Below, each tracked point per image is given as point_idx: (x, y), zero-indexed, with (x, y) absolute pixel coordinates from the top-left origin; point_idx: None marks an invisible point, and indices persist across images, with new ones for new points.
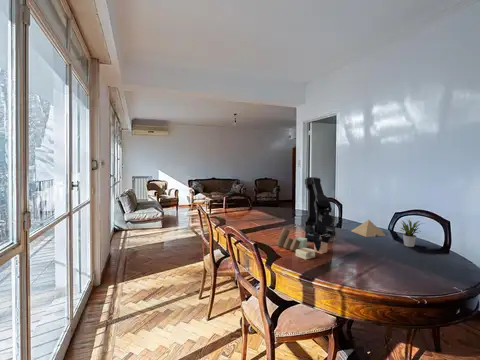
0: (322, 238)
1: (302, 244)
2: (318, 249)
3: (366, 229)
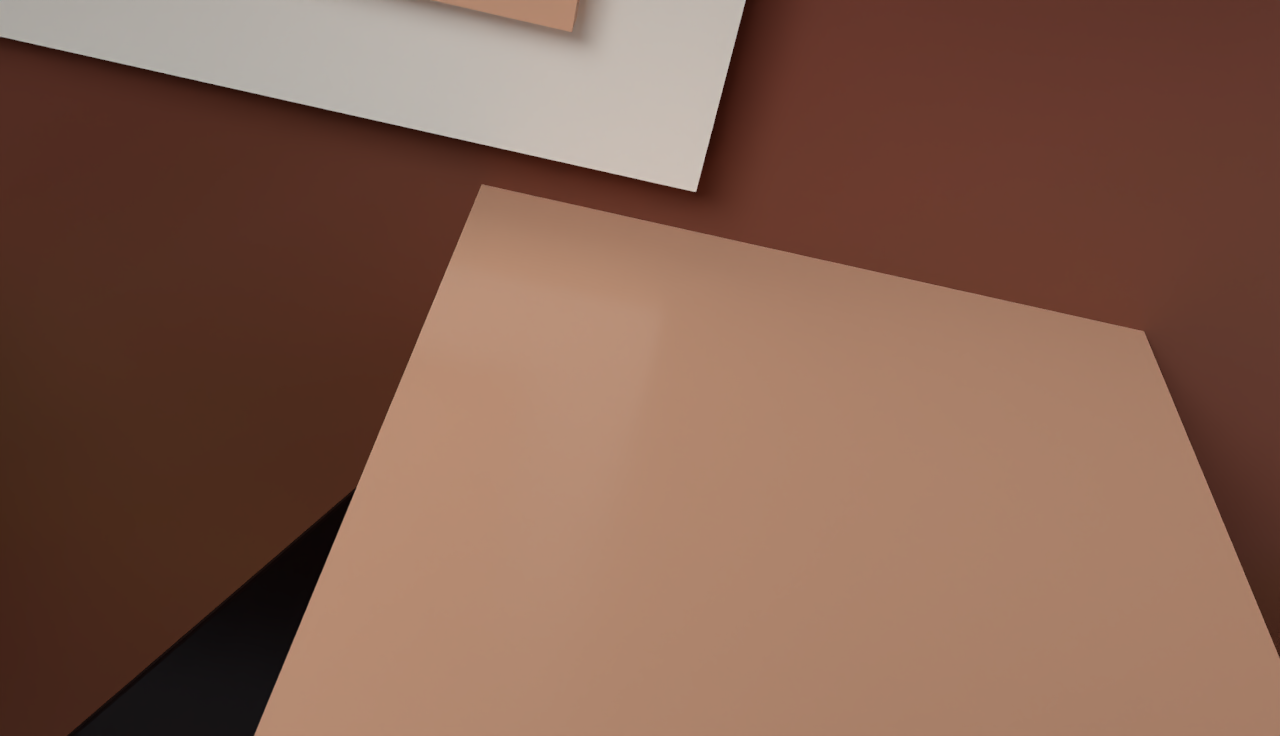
0: None
1: None
2: None
3: None
